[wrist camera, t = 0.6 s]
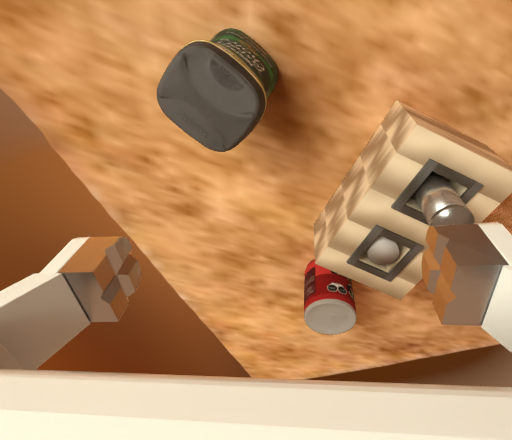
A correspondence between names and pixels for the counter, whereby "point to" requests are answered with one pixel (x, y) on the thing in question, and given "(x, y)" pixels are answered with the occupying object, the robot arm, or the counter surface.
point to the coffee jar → (218, 88)
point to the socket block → (402, 199)
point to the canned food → (328, 301)
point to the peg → (441, 202)
